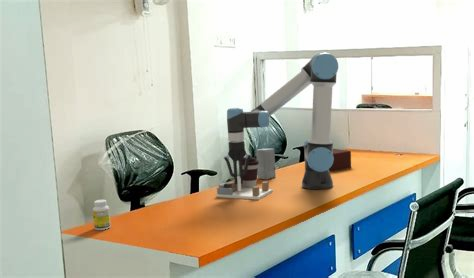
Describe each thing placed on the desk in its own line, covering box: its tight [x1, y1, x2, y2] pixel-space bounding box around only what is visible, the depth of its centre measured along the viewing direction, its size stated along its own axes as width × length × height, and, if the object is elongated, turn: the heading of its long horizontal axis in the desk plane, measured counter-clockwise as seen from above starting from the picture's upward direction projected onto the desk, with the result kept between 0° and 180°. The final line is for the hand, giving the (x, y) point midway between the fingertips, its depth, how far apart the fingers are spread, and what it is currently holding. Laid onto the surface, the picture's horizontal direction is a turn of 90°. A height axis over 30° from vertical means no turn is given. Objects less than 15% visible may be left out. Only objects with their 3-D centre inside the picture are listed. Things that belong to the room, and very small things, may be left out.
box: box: [329, 148, 352, 172], centre depth 322 cm, size 21×16×10 cm
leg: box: [224, 179, 243, 192], centre depth 267 cm, size 14×3×5 cm, turn 153°
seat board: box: [215, 181, 273, 200], centre depth 264 cm, size 22×16×5 cm
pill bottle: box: [92, 199, 111, 231], centre depth 217 cm, size 6×6×11 cm
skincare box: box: [255, 147, 276, 180], centre depth 300 cm, size 8×7×16 cm
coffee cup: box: [242, 156, 259, 188], centre depth 277 cm, size 10×10×15 cm
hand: (239, 190), depth 262 cm, fingers closed
